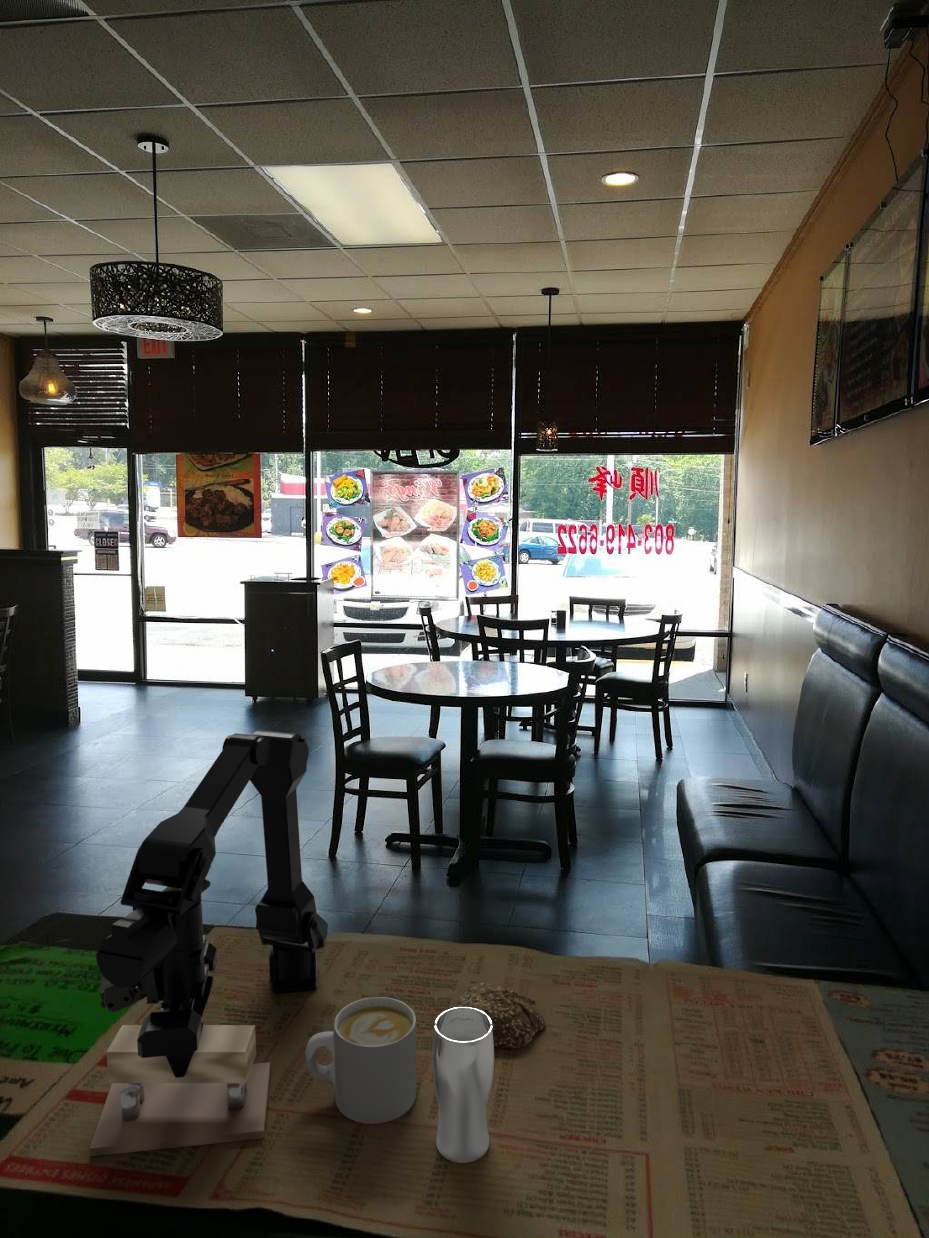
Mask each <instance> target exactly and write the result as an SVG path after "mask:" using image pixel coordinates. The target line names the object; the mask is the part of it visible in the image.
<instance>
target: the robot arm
mask: <svg viewBox="0 0 929 1238" xmlns="http://www.w3.org/2000/svg"><path fill="white" fill-rule="evenodd" d="M309 753H310V751H309V746H308V743H307V741H306V739H305V737H302V735H301V734H300V733H295V732H293V733H291V732H283V731H275V730H274V731H273V730H263V729H258V730H255V732H253V733H252V734H246V733H245V734H244V733H238V732H237V733H233V734H230V735H227V736H226V737H225V739H224V741H223V743H222V751H221V752H220V753H219V754H218V756H217V757H216V759H215V761H214V762H213V763H212V764H211V766H210V767H209V768H208V771H207V773H206V774H205V775H204V776H203V778H202V779H201V781H200V782H199V784H198V785H197V786H196V788H195V790H194V791H193V792H192V793H191V796H190V797H189V799H188V800H187V801H186V803H185V804H184V806H183V807H182V808H181V809H180V810H179V811H178V812H177V813H175V814H173V815H171V816H170V817H168V818H166V819H163V820H162V821H160V822H159V823H158V824H157V825H156V827H154V828H153V829H152V831H151V832H150V833H149V834H147V836H146V837H145V838H144V840H143V841H142V843H141V844H140V846H139V847H138V849H137V851H136V853H135V857H134V860H133V864H132V867H131V870H130V873H129V875H128V878H127V881H126V884H125V888H124V891H123V894H122V896H121V899H120V905H121V906H127V907H131V908H132V911H131V912H130V913H128V914H127V915H125V916H124V917H122V918H121V919H120V918H119V919H118V920H117V921H115V922H114V923H113V924H111V927H110V931H111V932H110V933H111V934H110V935H108V936H107V937H106V938H105V939H104V940H102V941H101V943H100V944H99V947H98V950H97V952H96V954H95V955H96V956H95V959H96V964H97V967H98V970H99V972H100V974H101V975H102V976H103V979H102V981H101V983H100V986H99V996H100V1000H101V1001H100V1004H99V1005H100V1007H101V1008H103V1009H104V1008H105V1009H106V1010H107V1011H108V1012H111V1013H116V1012H119V1011H121V1010H123V1009H126V1008H129V1007H131V1006H132V1005H133V1004H134V1003H136V1002H139V1001H142V1000H143V999H145V998H146V1004H147V1005H153V1004H155V1005H156V1004H159V1003H160V1002H161V1006H160V1010H161V1011H154V1012H153V1011H152V1012H150V1014H149V1015H147V1017H145V1018H144V1020H143V1021H142V1023H141V1025H142V1026H141V1029H140V1032H139V1035H138V1039H137V1046H138V1055H139V1056H140V1057H142V1058H148V1057H159V1056H166V1057H167V1060H168V1062H169V1064H170V1067H171V1069H172V1071H173V1074H174V1076H175V1077H176V1078H180V1077H184V1076H185V1075H186V1072H187V1069H188V1067H189V1064H190V1062H191V1059H192V1056H193V1054H194V1052H195V1051H196V1050H198V1045H199V1041H200V1038H201V1033H202V1029H203V1025H205V1024H204V1022H202V1018H203V1015H204V1011H205V1009H206V1005H207V1004H208V1001H209V997H210V994H211V991H212V986H213V983H214V977H213V975H208V974H209V973H210V974H211V973H213V974H214V973H216V969H217V964H218V956H217V955H218V954H217V947H215V946H214V944H212V943H210V942H209V941H207V935H206V934H204V927H203V926H204V925H203V905H202V900H203V899H202V894H203V892H205V891H206V890H207V889H208V888H210V887H211V881H210V880H208V879H207V876H208V874H209V871H210V869H211V868H212V867H211V866H212V863H213V861H214V859H215V857H216V854H217V851H216V849H217V848H216V840H215V838H216V836H217V834H218V832H219V831H220V830H219V829H221V827H222V825H223V823H224V822H225V820H226V818H227V817H228V815H229V814H230V812H231V811H232V809H233V807H234V806H235V805H236V802H237V801H238V800H239V798H240V796H241V795H242V793H243V791H244V790H245V789H246V786H248V783H249V782H250V783H251V785H253V787H254V788H255V789H256V791H257V792H258V794H259V795H260V799H261V811H262V814H261V815H262V825H263V826H262V827H263V839H264V840H263V842H264V853H265V855H264V856H265V867H266V879H267V882H266V883H267V889H266V890H265V892H264V894H263V896H262V898H261V899H260V901H259V902H258V903H257V905H256V906H255V908H254V911H255V918H256V919H255V920H256V924H255V930H257V932H258V935H259V939H260V942H261V945H263V946H272V947H270V949H269V954H268V968H269V970H268V971H269V982H270V983H272V987H271V988H272V993H286V992H299V991H309V990H310V991H311V990H313V991H314V990H316V989H318V978H319V977H318V976H319V975H318V972H319V971H318V968H319V967H318V966H319V965H318V962H317V950H319V949H323V948H324V947H325V946H326V939H327V938H328V933H329V932H328V928H329V923H328V922H327V921H326V920H325V919H323V917H322V916H320V915H319V914H318V912H317V906H316V899H315V896H314V894H313V893H312V892H311V890H310V889H309V888H308V885H306V883H305V882H304V881H303V876H302V875H303V874H302V873H303V872H302V859H301V858H302V857H301V845H300V843H301V842H300V830H299V829H300V828H299V813H298V811H299V810H298V797H297V794H298V793H297V790H298V787H299V785H300V783H301V782H302V780H303V778H304V776H305V775H306V773H307V770H308V769H307V768H308V767H307V766H308V759H309V756H310V755H309ZM145 884H149V885H153V886H162V887H165V888H163V889H162V890H154V889H147V888H143V887H144V886H145ZM206 965H208V966H206Z"/></svg>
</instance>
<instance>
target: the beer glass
mask: <svg viewBox="0 0 929 1238" xmlns="http://www.w3.org/2000/svg"><path fill="white" fill-rule="evenodd" d="M433 1029H434V1030H433V1039H432V1053H431V1054H432V1055H431V1056H432V1057H431V1059H432V1060H431V1061H432V1062H431V1063H432V1075H433V1082H434V1087H435V1093H436V1098H437V1103H438V1111H439V1112H438V1113H439V1121H438V1127H437V1132H436V1137H435V1146H436V1149H437V1151H438V1152H439V1154H440V1155H441V1156H442V1157H443V1158H445V1159H446V1160H448V1161H450V1162H453V1163H458V1164H468V1163H473V1162H475V1161H477V1160H480V1159H481V1158H483V1156H485V1154H486V1153H487V1151H488V1149H489V1147H490V1136H489V1132H488V1131H489V1130H488V1126H487V1108H488V1103H489V1099H490V1093H491V1088H492V1084H493V1077H494V1072H495V1069H494V1068H495V1048H494V1039H493V1023H492V1020H491V1018H490V1017H489V1016H488V1015H487V1014H486V1013H484V1012H483V1011H481V1010H478V1009H475V1008H471V1007H456V1008H455V1007H453V1008H448V1009H446V1010H444V1011H442V1012H440V1013H439V1015H438V1016H437V1017H436V1018H435V1020H434V1023H433Z"/></svg>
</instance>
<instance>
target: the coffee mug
mask: <svg viewBox="0 0 929 1238" xmlns="http://www.w3.org/2000/svg"><path fill="white" fill-rule="evenodd" d="M322 1048H326V1049H327V1050H329V1052H330V1053H331V1056H332V1057H331V1058H332V1061H331V1063H329V1064H328V1065H323V1064H320V1063H319V1062H318V1060H317V1058H316V1057H317V1052H318V1050H320V1049H322ZM304 1053H305V1055H304V1061H305V1067H306V1070H307V1071H308V1074H310V1076H311V1077H313V1078H314V1079H316V1080H319V1081H322V1082H325V1083H327V1084H329V1085H331V1086H332V1087H333V1090H334V1099H335V1105H336V1107H337V1109H338V1110H339V1112H340V1113H341V1114H342V1115H343V1116H345V1117H346V1118H348V1119H349V1120H352V1121H354V1122H357V1123H361V1124H366V1125H368V1124H370V1125H374V1124H376V1125H377V1124H383V1123H388V1122H391V1121H394V1120H395V1119H398V1118H400V1117H402V1116H403V1115H405V1114H406V1113H407V1112H408V1111H409V1110H410V1109H411V1108H412V1107H413V1105H414V1103H415V1101H416V1099H417V1018H416V1014H415V1012H414V1010H413V1009H412V1008H411V1007H410V1006H409V1005H408V1004H406V1002H403V1001H401V1000H399V999H396V998H391V997H387V996H372V997H365V998H362V999H361V998H360V999H358V1000H355V1001H353V1002H351V1003H348V1004H347V1005H345V1006H344V1007H343V1008H341V1009H340V1010H339V1011H338V1012H337V1014H336V1016H335V1018H334V1021H333V1031H322V1032H321V1031H320V1032H318V1033H315V1034H314V1035H312V1036H311V1037H310V1038H309V1040H308V1042H307V1044H306V1047H305V1052H304Z"/></svg>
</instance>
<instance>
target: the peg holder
mask: <svg viewBox="0 0 929 1238" xmlns="http://www.w3.org/2000/svg"><path fill="white" fill-rule="evenodd" d="M270 1077H271V1062H270V1061H269V1062H267V1061H266V1062H257V1063H253V1066H252V1069H251V1071H250V1074H249V1077H248V1080H247V1083H111V1086H110V1088H109V1091H108V1094H107V1097H106V1100H105V1103H104V1105H103V1108H102V1111H101V1113H100V1117H99V1120H98V1123H97V1125H96V1128H95V1131H94V1134H93V1138H92V1140H91V1143H90V1144H89V1145H90V1146H89V1157H96V1156H107V1155H116V1154H117V1155H118V1154H127V1153H136V1152H146V1151H154V1150H164V1149H176V1148H183V1147H191V1146H192V1147H193V1146H202V1145H204V1146H205V1145H212V1144H222V1143H231V1142H241V1141H252V1140H260V1139H264V1138H265V1130H266V1129H265V1128H266V1120H267V1109H268V1099H269V1098H268V1097H269V1088H270Z"/></svg>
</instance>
